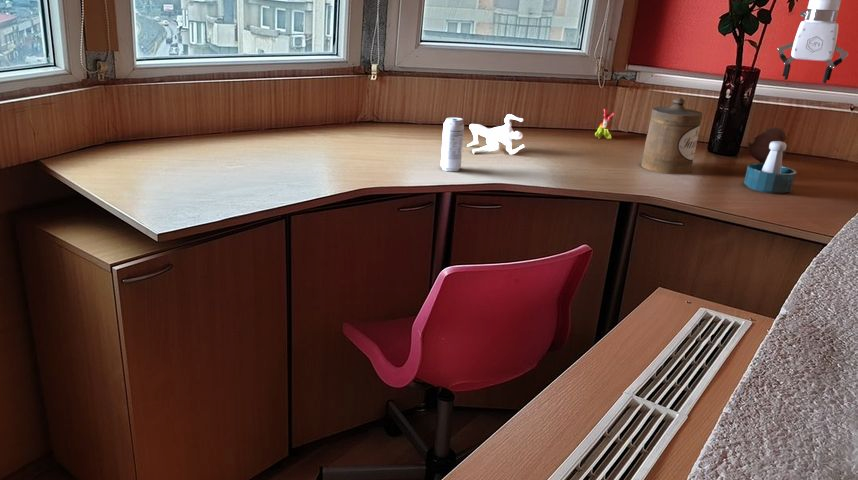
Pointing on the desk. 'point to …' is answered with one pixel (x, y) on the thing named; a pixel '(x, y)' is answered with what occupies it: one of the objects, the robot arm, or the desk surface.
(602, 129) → the bird rattle
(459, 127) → the energy drink can
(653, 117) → the wooden container
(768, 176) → the bowl
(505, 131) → the person figurine
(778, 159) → the salt shaker
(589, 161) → the desk surface
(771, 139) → the brown rounded lumpy piece
